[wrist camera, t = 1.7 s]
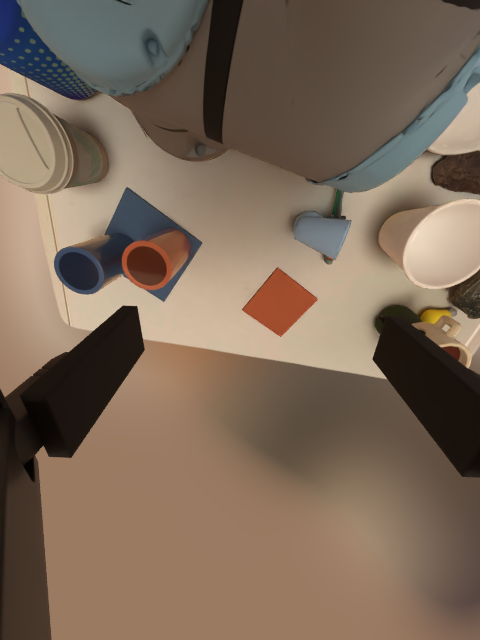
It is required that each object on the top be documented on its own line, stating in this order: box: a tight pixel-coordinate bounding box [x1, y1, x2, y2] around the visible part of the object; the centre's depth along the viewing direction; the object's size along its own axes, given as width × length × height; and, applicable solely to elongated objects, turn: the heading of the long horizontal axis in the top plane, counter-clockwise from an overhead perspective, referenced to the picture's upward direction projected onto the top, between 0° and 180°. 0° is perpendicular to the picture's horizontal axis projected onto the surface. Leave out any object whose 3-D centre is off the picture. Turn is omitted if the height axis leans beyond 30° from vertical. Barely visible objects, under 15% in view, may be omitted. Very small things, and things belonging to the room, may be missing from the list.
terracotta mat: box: [242, 268, 317, 337], centre depth 43 cm, size 10×9×1 cm
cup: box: [378, 199, 480, 289], centre depth 33 cm, size 10×10×11 cm
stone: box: [432, 150, 480, 194], centre depth 33 cm, size 11×2×5 cm
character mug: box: [375, 305, 472, 368], centre depth 38 cm, size 11×7×13 cm, turn 160°
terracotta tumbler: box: [122, 228, 191, 290], centre depth 35 cm, size 6×6×11 cm
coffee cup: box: [0, 93, 108, 194], centre depth 29 cm, size 8×8×12 cm
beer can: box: [0, 0, 97, 100], centre depth 23 cm, size 8×8×16 cm
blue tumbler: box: [54, 233, 134, 294], centre depth 35 cm, size 6×6×11 cm
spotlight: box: [293, 211, 351, 260], centre depth 33 cm, size 5×10×7 cm
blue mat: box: [105, 188, 202, 302], centre depth 40 cm, size 13×13×1 cm
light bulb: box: [420, 308, 457, 324], centre depth 42 cm, size 3×6×4 cm
